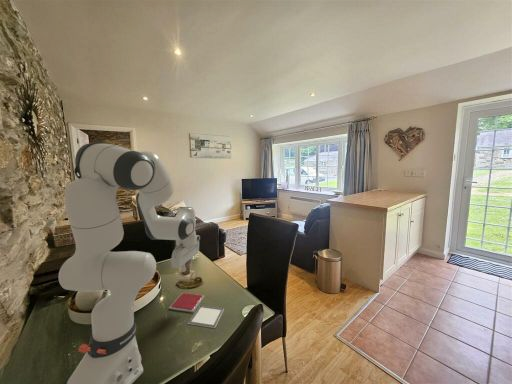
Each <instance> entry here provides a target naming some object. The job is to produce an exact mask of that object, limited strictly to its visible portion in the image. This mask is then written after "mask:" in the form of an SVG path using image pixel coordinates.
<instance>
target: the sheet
mask: <svg viewBox="0 0 512 384" xmlns="http://www.w3.org/2000/svg"><path fill="white" fill-rule="evenodd" d="M196 309H197V310H195V311H194V314H193V315H192V316H191V318H190V320H189V321H188V322H187V325H193V326H198V327H199V326H200V327H205V328H212V329H215V328H216V327H217V325H218V323H219V322H220V319H221V317H222V315H223V312H224V310H225V308H223V307H214V306H208V305H200V304H199V305H198V307H197V308H196Z"/></svg>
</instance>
